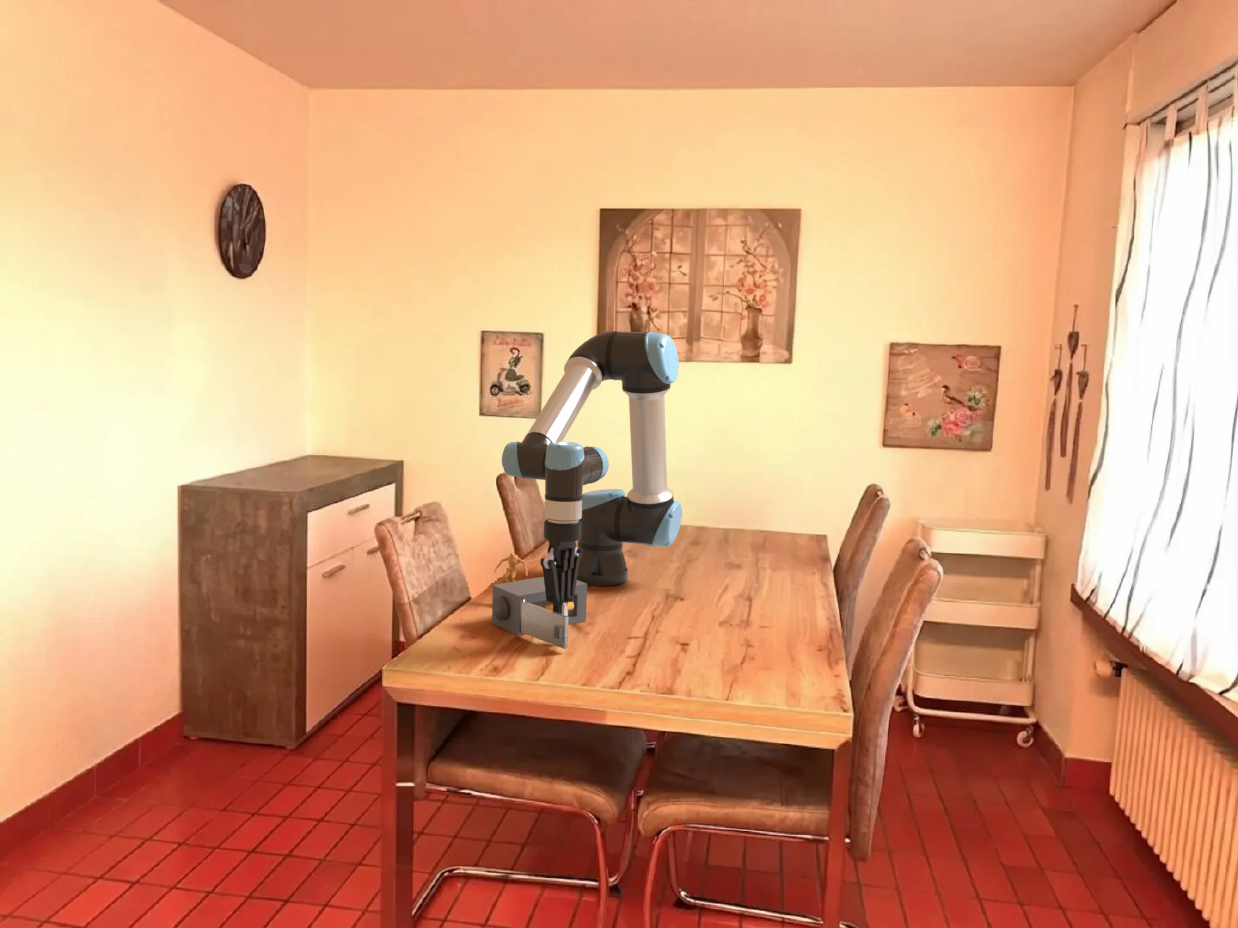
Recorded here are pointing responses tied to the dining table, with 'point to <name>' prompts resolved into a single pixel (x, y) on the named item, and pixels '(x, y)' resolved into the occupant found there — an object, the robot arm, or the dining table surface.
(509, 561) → the figurine
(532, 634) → the door
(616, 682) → the dining table surface
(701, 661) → the dining table surface
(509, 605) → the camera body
